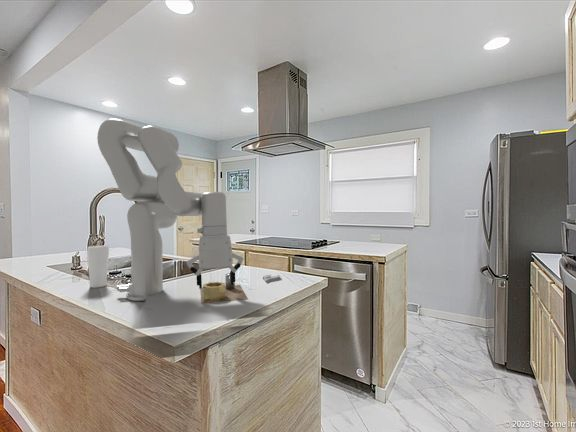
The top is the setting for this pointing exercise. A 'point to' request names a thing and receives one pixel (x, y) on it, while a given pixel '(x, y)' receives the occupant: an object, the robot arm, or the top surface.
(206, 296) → the brass ring
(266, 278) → the adjustable wrench
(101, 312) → the top surface
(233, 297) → the walnut board
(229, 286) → the steel post
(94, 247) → the drinking glass
